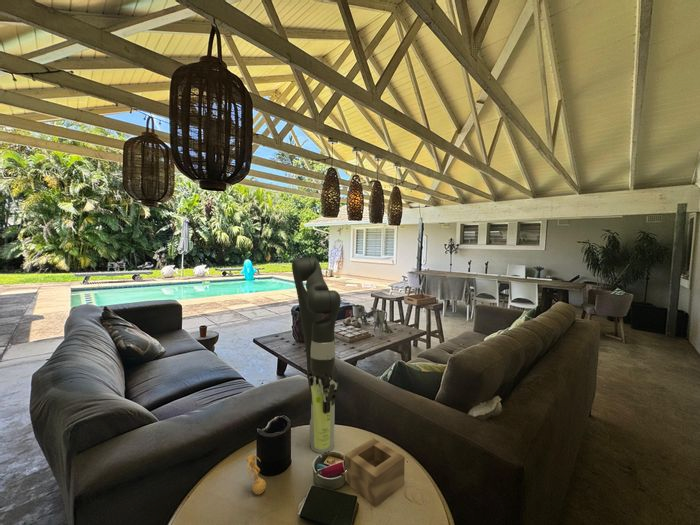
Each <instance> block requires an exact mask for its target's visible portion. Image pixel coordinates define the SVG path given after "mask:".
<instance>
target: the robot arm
mask: <svg viewBox="0 0 700 525" xmlns="http://www.w3.org/2000/svg"><path fill="white" fill-rule="evenodd" d="M291 271H292V276H293V279H294V286H295V291H296V296H297V300H298V306H299V313H300V314H299V315H300V321H301V329H302V333H303V340H304V348H305V354H306V370H307V371H306V372H307V373H306V376H307V382H308V388H309V392H310V393H312V392H311V386H313V385H317V384H319V387H320V389H321V394H323V400H324V401H323V413H324V414H326V413H329V412H330V406H331V422H330V446H329V447H328V448H326V449H322V450H320V449H317V448H315V446H314V420H313V402H312V397H311V402H310V403H311V405H310V406H311V407H310V409H311V410H310V411H311V412H310V414H311V415H310V417H311V418H310V420H309V444H310V448H311V450H312V451H313V452H315V453H318V454H324V452H326V453H329V452H331V451H332V450H334V448H335V409H336V408H335V400H336V399H337V395H338V391H339V388H340V383H339V382H338V369H337V366H336V346H335V345H336V344H335V329H336V328H335V326H336V322H337V318H338V313H339V311H340V308H341V304H342V303H341V300H342V299H341V296H340V293H339V292H338V291H336V290H331V289H329V286H328V284H327V282H326V281H325V279H324V275H323V270H322V268H321V264H320V262H319V260H318V258H317V257H315V256H314V257H313V256H311V257H304V258H297V259H293V260H292V262H291ZM304 282H305V285H304ZM324 314H326V316H325V315H324ZM327 388H328V389H327ZM324 389H327V390H324ZM326 393H328V397H326ZM328 451H329V452H328Z"/></svg>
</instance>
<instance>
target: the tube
mask: <svg viewBox="0 0 700 525" xmlns="http://www.w3.org/2000/svg"><path fill="white" fill-rule="evenodd" d="M327 389H328V388H327ZM327 389H324V390H327ZM310 393H311V398H312V402H313V420H314V446H315V448H317V449H320V450H322V449H326V448H328V447H329V446H330V422H331V406H330V412H329V413H326V414H324V413H323V401H324V400H323V394H321V389H320V387H319V384H317V385H313V386H311V392H310ZM326 397H328V393H326Z"/></svg>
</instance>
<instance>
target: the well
mask: <svg viewBox="0 0 700 525" xmlns="http://www.w3.org/2000/svg"><path fill="white" fill-rule="evenodd" d="M405 458H406V457H405V456H404V455H402V454H400V453H399V452H397V450H396V451H395V450H394V449H392V448H390V447H389V446H387V445H386V444H384V443H383V442H381V441H379V440H377V439H376V438H374V437H373V438H371V439H369V440H367V441H366V442H364V443H363V444H361V445H359V446H357V447H355V448H354V449H352V450H350V451H348V452H346V453H345V454H344V470H345V469H346V470H347V471H348V473H347V483H348V484H349V485H350V486H349V485H348V484H347V483H346V484H347V485H348V486H349V487H351V489H353V490H354V491H355V490H356V491H357V492H356V491H355V492H356V493H358V494H359V495H360V494H361V495H362V496H363V497H362V496H361V495H360V496H361V497H362V498H363V499H365V500H366V499H367V500H368V501H369V502H368V503H369V504H371V505H372V506H373V507H374V508H377V507H378V506H379V505H380V504H382V503H383V502H384V501H385V500H387V499H389V497H390V496H392V495H393V494H394V493H395V492H396V491H398V490H399V489H401V487H403V486H404V485H405V465H406V464H405V460H406V459H405ZM367 500H366V501H367Z"/></svg>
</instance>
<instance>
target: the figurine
mask: <svg viewBox="0 0 700 525" xmlns="http://www.w3.org/2000/svg"><path fill="white" fill-rule="evenodd" d="M256 459H257V460H258V461H259V462H261V459H260V458H259V457H258V456H257V455H256V454H255V453H253V454H252V455H248V456H247V458H246V463H247V465H246V470H247V474H248V478H249V480H252V475H251V473H250V472H252V473H253V480H254V482H253V483H252V484H253V485H252V490H253V493H254V494H256V495H261V494H263V493H264V491H265V490H266V487H267V483H266V480H265V479H263V478H261V477H260V476H259V473H260V472H261V469H260V468H259V466H258V465H257V464H256ZM249 468H251V470H250V469H249Z"/></svg>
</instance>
